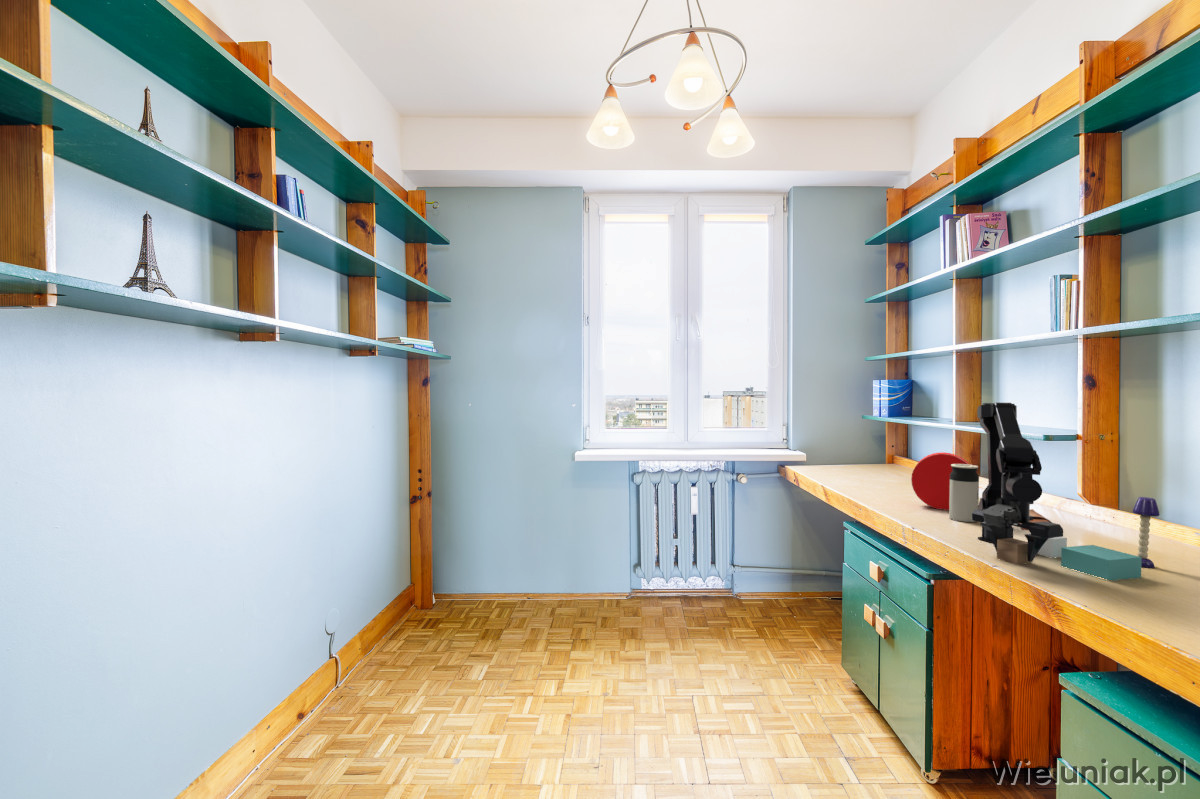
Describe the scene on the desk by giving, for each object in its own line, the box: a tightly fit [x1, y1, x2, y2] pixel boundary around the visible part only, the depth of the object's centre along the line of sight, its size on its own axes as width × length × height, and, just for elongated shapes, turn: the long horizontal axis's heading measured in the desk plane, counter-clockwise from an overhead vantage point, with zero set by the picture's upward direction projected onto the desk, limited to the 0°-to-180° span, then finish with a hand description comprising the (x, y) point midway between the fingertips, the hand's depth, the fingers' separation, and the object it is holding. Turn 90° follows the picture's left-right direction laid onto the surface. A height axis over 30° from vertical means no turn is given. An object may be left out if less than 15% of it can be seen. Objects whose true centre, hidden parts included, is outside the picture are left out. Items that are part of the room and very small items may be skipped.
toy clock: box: [910, 452, 971, 511], centre depth 196 cm, size 20×6×20 cm, turn 56°
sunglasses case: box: [1019, 509, 1053, 531], centre depth 172 cm, size 18×7×7 cm
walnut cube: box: [996, 537, 1033, 566], centre depth 136 cm, size 5×5×5 cm
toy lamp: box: [1132, 496, 1160, 569], centre depth 133 cm, size 5×5×17 cm
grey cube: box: [1037, 536, 1068, 559], centre depth 141 cm, size 5×5×5 cm
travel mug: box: [948, 464, 980, 523], centre depth 179 cm, size 8×8×18 cm
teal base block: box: [1060, 544, 1142, 581], centre depth 128 cm, size 10×10×5 cm
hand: (1014, 556), depth 136 cm, fingers open, 7 cm apart
